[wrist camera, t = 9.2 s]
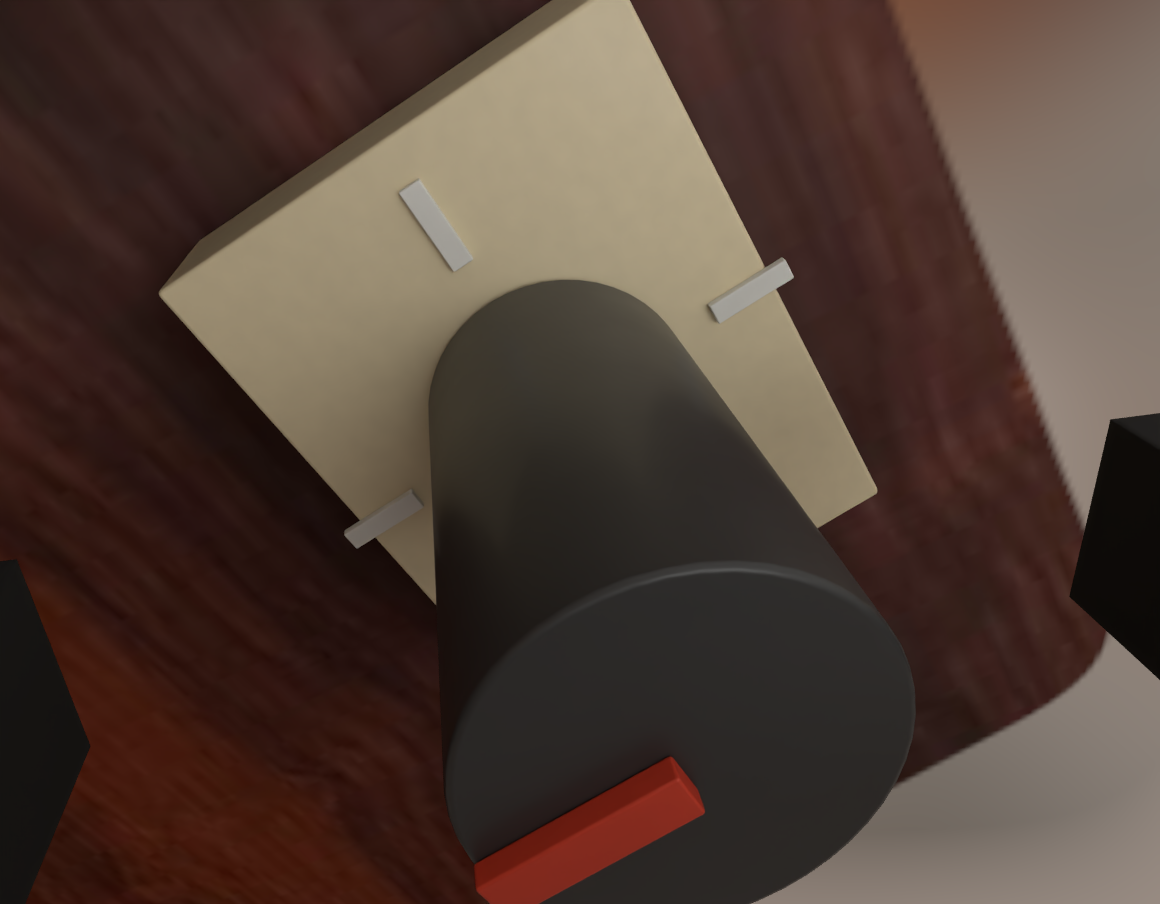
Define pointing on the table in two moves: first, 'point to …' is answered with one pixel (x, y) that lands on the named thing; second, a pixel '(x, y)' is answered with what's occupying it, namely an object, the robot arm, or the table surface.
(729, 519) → the dial
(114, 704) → the table surface
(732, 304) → the dial panel
